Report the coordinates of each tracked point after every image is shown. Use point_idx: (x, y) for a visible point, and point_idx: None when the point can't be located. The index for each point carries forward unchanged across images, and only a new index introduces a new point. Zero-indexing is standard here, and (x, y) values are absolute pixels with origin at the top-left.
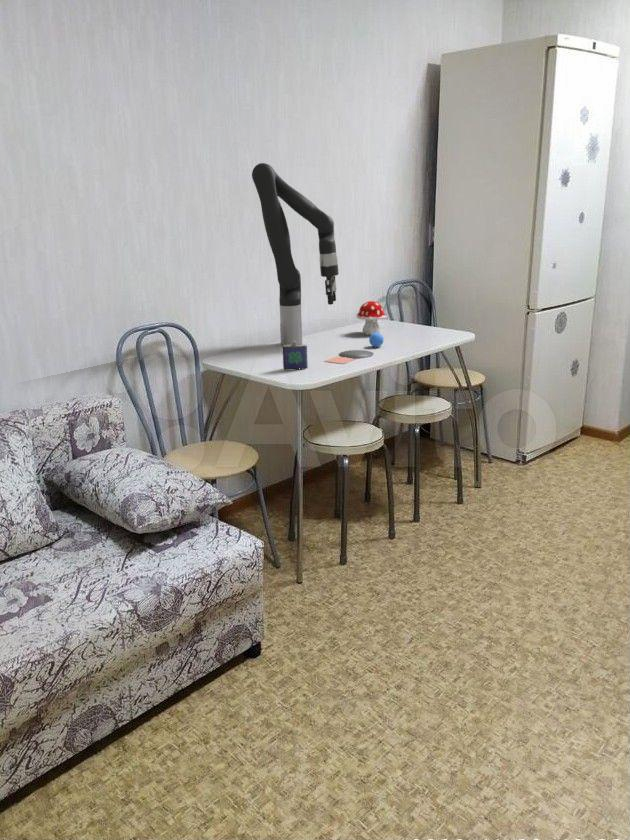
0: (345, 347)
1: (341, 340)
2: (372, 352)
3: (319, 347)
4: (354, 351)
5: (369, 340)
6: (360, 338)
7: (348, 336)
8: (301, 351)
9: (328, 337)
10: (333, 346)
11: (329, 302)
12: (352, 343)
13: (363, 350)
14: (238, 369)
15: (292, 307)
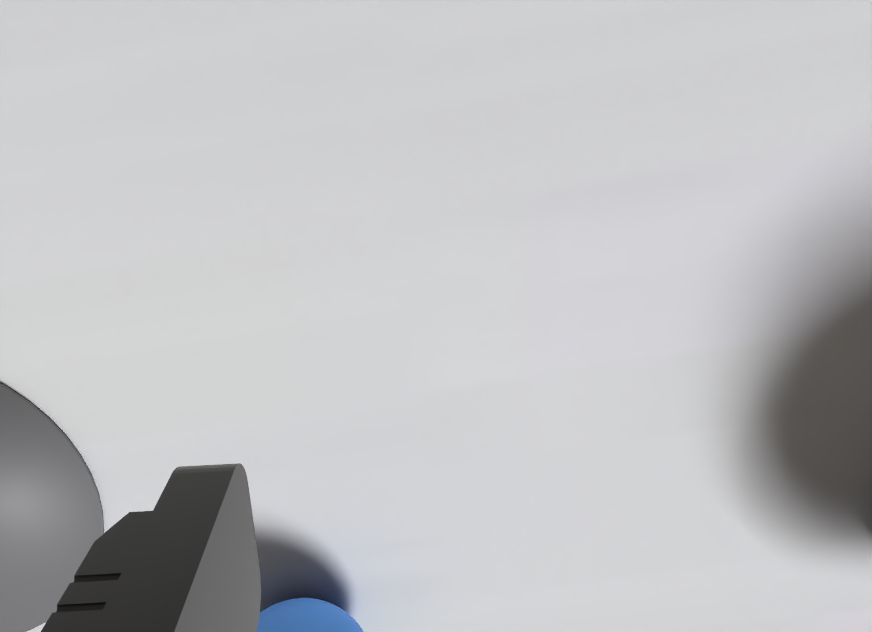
0: (233, 354)
1: (631, 245)
2: (28, 628)
3: (171, 30)
4: (22, 479)
5: (265, 626)
6: (729, 432)
7: (867, 289)
8: None
9: (847, 35)
10: (266, 209)
11: (110, 562)
12: (458, 393)
13: None
14: None
15: None
